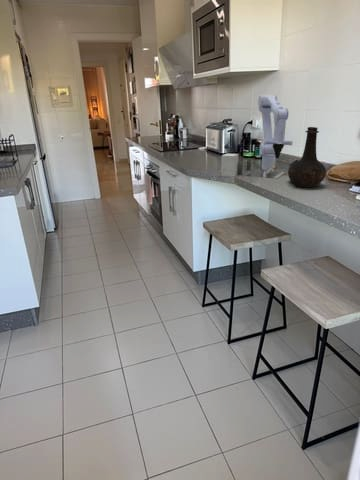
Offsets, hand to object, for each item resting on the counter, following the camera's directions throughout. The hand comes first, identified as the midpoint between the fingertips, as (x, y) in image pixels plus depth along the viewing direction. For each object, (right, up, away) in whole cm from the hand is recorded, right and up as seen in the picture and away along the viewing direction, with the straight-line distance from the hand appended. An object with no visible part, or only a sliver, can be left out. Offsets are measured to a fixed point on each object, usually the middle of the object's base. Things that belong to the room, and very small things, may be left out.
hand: (277, 158), depth 189 cm
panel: (-6, -10, +3) cm, 12 cm away
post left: (-20, -10, +4) cm, 23 cm away
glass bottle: (+9, -18, -18) cm, 27 cm away
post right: (-13, -5, +15) cm, 21 cm away
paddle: (-6, -9, +3) cm, 11 cm away
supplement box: (-26, -10, +4) cm, 28 cm away
